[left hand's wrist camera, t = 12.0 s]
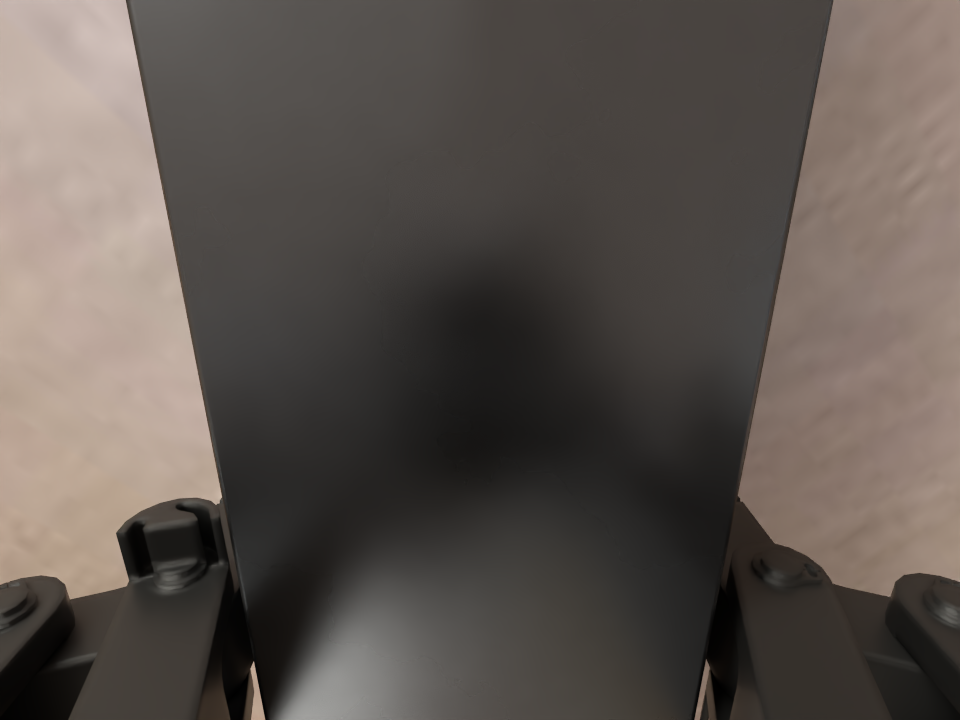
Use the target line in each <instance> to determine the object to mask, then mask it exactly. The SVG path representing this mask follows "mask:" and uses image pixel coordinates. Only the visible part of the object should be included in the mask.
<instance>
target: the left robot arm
mask: <svg viewBox="0 0 960 720" xmlns="http://www.w3.org/2000/svg"><path fill="white" fill-rule="evenodd" d="M116 534H117V538H118V542H119V545H120V549H121V552H122V556H123V560H124V563H125V567H126V570H127V574H128V578H129V583H128V585H127V586H126V587H123V588H119V589H116V590H112V591H107V592H103V593H98V594H94V595H89V596H85V597H80V598H75V599H71V600H70V599H69V596H68V593H67V590H66V587H65V584H64V583H62V582H61V581H60V580H59V579H57V578H55V577H48V576H35V577H28V578H21V579H18V580H14V581H10V582H9V583H4V584H2V585H0V720H251V714H252V705H253V697H254V688H253V680H252V675H251V670H250V668H251V666H252V664H253V661H254V658H253V653H252V648H251V643H250V638H249V632H248V627H247V622H246V617H245V612H244V607H243V601H242V596H241V591H240V586H239V581H238V576H237V571H236V565H235V560H234V555H233V550H232V545H231V540H230V534H229V529H228V524H227V519H226V514H225V509H224V503H223V498H221V500H220V504H217V505H215V504H214V503H213V502H211V501H209V500H205V499H200V498H182V499H176V500H171V501H167V502H163V503H159V504H157V505H155V506H152V507H150V508H148V509H145V510H143V511H141V512H139V513H138V514H136V515H135V516H133V517H132V518H130V519H129V520H127V521H126V522H125V523H124V524H123V525H122V527H121V528H120V529H119V530H118V531H117V533H116ZM706 659H707V662H708V664H709V666H710V670H709V675H708V680H707V685H706V690H705V696H704V701H703V706H702V711H701V717H700V720H960V582H958V581H955V580H951V579H949V578H945V577H941V576H936V575H929V574H922V573H917V574H909V575H904V576H902V577H901V578H900V579H899V580H897V581H896V582H895V585H894V588H893V591H892V594H891V597H887V596H882V595H877V594H873V593H868V592H864V591H859V590H854V589H850V588H845V587H842V586H838V585H835V584H832V582H831V580H830V578H829V577H828V576H827V574H826V573H825V571H824V570H823V569H822V567H820V566H819V565H818V564H816V563H815V562H814V561H813V560H811V559H810V558H809V557H807V556H806V555H803V554H801V553H799V552H797V551H795V550H793V549H791V548H789V547H785V546H781V545H778V544H774V542H773V541H772V540H771V539H770V537H769V536H768V535H767V533H766V532H765V531H764V529H763V528H762V527H761V525H760V524H759V523H758V522H757V520H756V519H755V518H754V516H753V515H752V514H751V512H750V511H749V510H748V508H747V507H746V506H745V504H744V503H743V502H740V498H739V497H738V496H737V501H736V506H735V512H734V517H733V522H732V527H731V532H730V537H729V543H728V548H727V553H726V558H725V563H724V568H723V574H722V579H721V584H720V589H719V594H718V600H717V605H716V610H715V615H714V620H713V625H712V631H711V636H710V641H709V646H708V651H707V656H706Z"/></svg>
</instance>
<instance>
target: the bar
mask: <svg viewBox="0 0 960 720" xmlns="http://www.w3.org/2000/svg"><path fill="white" fill-rule="evenodd" d="M126 3H127V8H128V14H129V19H130V24H131V29H132V34H133V39H134V45H135V50H136V55H137V60H138V65H139V70H140V75H141V81H142V86H143V91H144V96H145V101H146V106H147V112H148V117H149V122H150V127H151V132H152V137H153V142H154V148H155V153H156V158H157V163H158V168H159V173H160V179H161V184H162V189H163V194H164V199H165V204H166V210H167V215H168V220H169V225H170V230H171V235H172V240H173V246H174V251H175V256H176V261H177V266H178V271H179V277H180V282H181V287H182V292H183V297H184V302H185V308H186V313H187V318H188V323H189V328H190V333H191V338H192V344H193V349H194V354H195V359H196V364H197V369H198V375H199V380H200V385H201V390H202V395H203V400H204V405H205V411H206V416H207V421H208V426H209V431H210V436H211V442H212V447H213V452H214V457H215V462H216V467H217V473H218V478H219V483H220V488H221V493H222V498H223V503H224V509H225V514H226V519H227V524H228V529H229V534H230V540H231V545H232V550H233V555H234V560H235V565H236V571H237V576H238V581H239V586H240V591H241V596H242V601H243V607H244V612H245V617H246V622H247V627H248V632H249V638H250V643H251V648H252V653H253V658H254V663H255V668H256V674H257V679H258V684H259V689H260V694H261V699H262V705H263V710H264V715H265V720H694V718H695V713H696V708H697V703H698V698H699V693H700V687H701V682H702V677H703V672H704V667H705V662H706V656H707V651H708V646H709V641H710V636H711V631H712V625H713V620H714V615H715V610H716V605H717V600H718V594H719V589H720V584H721V579H722V574H723V568H724V563H725V558H726V553H727V548H728V543H729V537H730V532H731V527H732V522H733V517H734V512H735V506H736V501H737V496H738V491H739V486H740V481H741V475H742V470H743V465H744V460H745V455H746V450H747V444H748V439H749V434H750V429H751V424H752V418H753V413H754V408H755V403H756V398H757V393H758V387H759V382H760V377H761V372H762V367H763V362H764V356H765V351H766V346H767V341H768V336H769V331H770V325H771V320H772V315H773V310H774V305H775V300H776V294H777V289H778V284H779V279H780V274H781V269H782V263H783V258H784V253H785V248H786V243H787V237H788V232H789V227H790V222H791V217H792V212H793V206H794V201H795V196H796V191H797V186H798V181H799V175H800V170H801V165H802V160H803V155H804V150H805V144H806V139H807V134H808V129H809V124H810V119H811V113H812V108H813V103H814V98H815V93H816V87H817V82H818V77H819V72H820V67H821V62H822V56H823V51H824V46H825V41H826V36H827V31H828V25H829V20H830V15H831V10H832V5H833V0H126Z"/></svg>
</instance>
